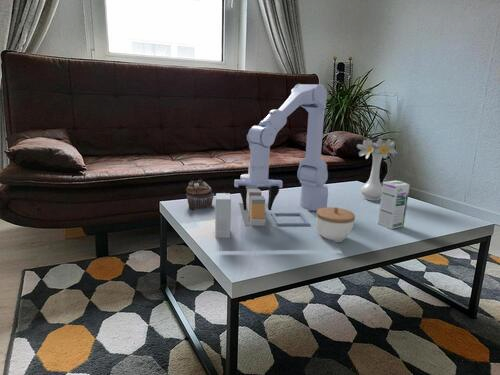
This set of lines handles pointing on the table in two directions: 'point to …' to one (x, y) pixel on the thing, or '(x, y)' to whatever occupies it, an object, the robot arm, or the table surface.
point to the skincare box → (222, 215)
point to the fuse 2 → (252, 193)
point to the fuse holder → (253, 221)
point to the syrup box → (393, 204)
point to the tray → (290, 223)
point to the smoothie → (246, 176)
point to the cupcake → (199, 195)
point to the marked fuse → (257, 207)
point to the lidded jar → (334, 223)
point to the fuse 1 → (247, 191)
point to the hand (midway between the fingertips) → (257, 209)
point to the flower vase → (375, 166)
